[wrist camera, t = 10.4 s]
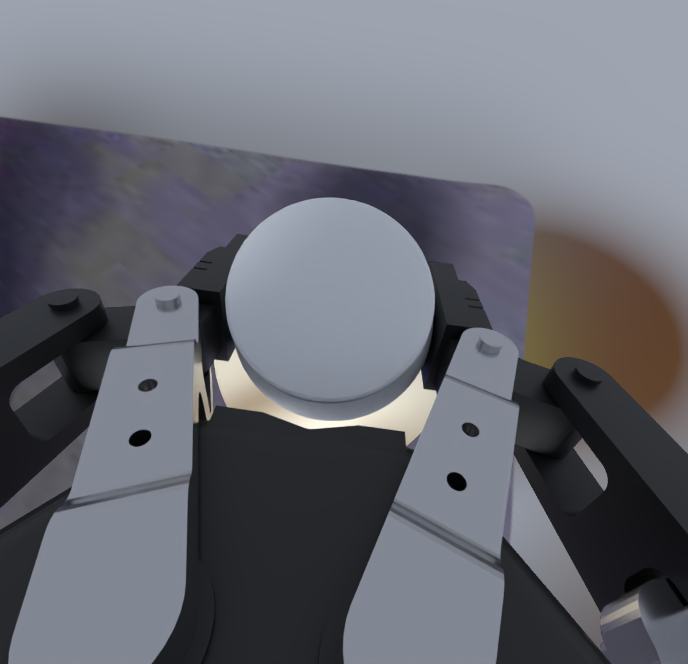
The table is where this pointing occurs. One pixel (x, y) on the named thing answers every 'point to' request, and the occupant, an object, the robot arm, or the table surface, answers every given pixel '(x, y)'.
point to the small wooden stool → (398, 415)
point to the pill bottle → (330, 308)
